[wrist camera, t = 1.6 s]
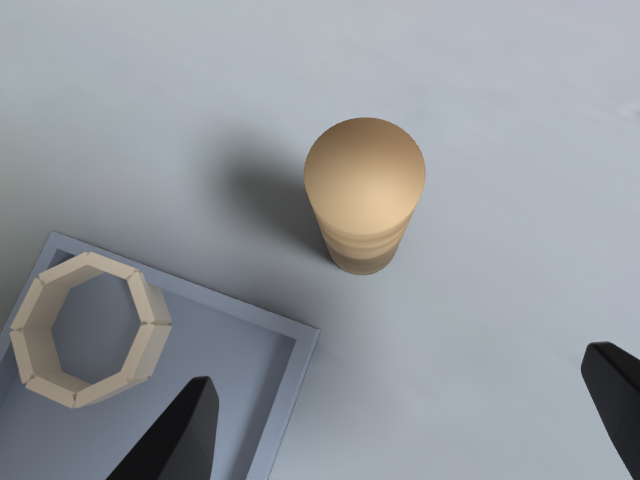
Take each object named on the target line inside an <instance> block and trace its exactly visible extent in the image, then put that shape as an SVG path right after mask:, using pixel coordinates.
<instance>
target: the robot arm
mask: <svg viewBox="0 0 640 480" xmlns="http://www.w3.org/2000/svg"><path fill="white" fill-rule="evenodd" d="M581 373H582V377H583V379H584V381H585V384H586V386H587V388H588V390H589V393H590V395H591V397H592V399H593V402H594V404H595V406H596V408H597V410H598V413H599V415H600V417H601V419H602V422H603V424H604V426H605V428H606V431H607V433H608V435H609V437H610V439H611V441H612V443H613V445H614V446H615V448H616V450H617V452H618V454H619V455H620V457H621V459H622V461H623V462H624V464H625V466H626V468H627V469H628V471H629V473H630V475H631V476H632V478H633V480H640V360H639V359H637V358H636V357H634V356H633V355H631V354H629V353H628V352H626V351H624V350H623V349H621V348H619V347H618V346H616V345H614V344H613V343H610V342H605V341H604V342H593V343H590V344H589V345H588V346H587V348H586V351H585V355H584V358H583V361H582V364H581ZM218 413H219V397H218V394H217V391H216V389H215V386H214V384H213V382H212V379H211V378H210V377H209V376H198V377H193V378H192V379H191V380H190V381H189V382H188V383H187V384H186V385H185V387H184V388H183V389H182V390H181V391H180V392H179V394H178V395H177V396H176V397H175V398H174V400H173V401H172V402H171V403H170V404H169V405H168V407H167V408H166V409H165V410H164V411H163V412H162V414H161V415H160V416H159V417H158V418H157V419H156V421H155V422H154V423H153V424H152V425H151V427H150V428H149V429H148V430H147V431H146V432H145V434H144V435H143V436H142V437H141V438H140V439H139V441H138V442H137V443H136V444H135V445H134V446H133V448H132V449H131V450H130V451H129V452H128V454H127V455H126V456H125V457H124V458H123V459H122V461H121V462H120V463H119V464H118V465H117V466H116V468H115V469H114V470H113V471H112V472H111V473H110V475H109V476H108V477H107V478H106V479H105V480H210V477H211V472H212V466H213V458H214V449H215V440H216V431H217V422H218Z"/></svg>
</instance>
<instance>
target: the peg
mask: <svg viewBox="0 0 640 480" xmlns="http://www.w3.org/2000/svg"><path fill="white" fill-rule="evenodd" d="M304 183H305V188H306V192H307V194H308V197H309V200H310V203H311V205H312V208H313V211H314V213H315V216H316V219H317V222H318V224H319V227H320V230H321V233H322V235H323V238H324V241H325V243H326V246H327V249H328V252H329V254H330V256H331V258H332V260H333V261H334V262H335V263H336V264H337V265H338V266H339V267H340V268H341V269H343V270H344V271H346V272H349V273H351V274H355V275H369V274H373V273H376V272H378V271H380V270H381V269H383V268H384V267H385V266H386V265H388V264H389V262H390V261H391V260H392V258H393V256H394V254H395V252H396V250H397V247H398V245H399V243H400V241H401V238H402V236H403V234H404V232H405V230H406V227H407V225H408V223H409V221H410V218H411V216H412V214H413V212H414V209H415V207H416V205H417V203H418V200H419V198H420V196H421V193H422V191H423V188H424V184H425V164H424V159H423V156H422V153H421V151H420V149H419V147H418V145H417V144H416V143H415V141H414V140H413V139H412V138H411V136H410V135H409V134H408V133H406V132H405V131H404V130H403V129H401V128H400V127H398V126H397V125H394V124H392V123H390V122H388V121H385V120H381V119H377V118H355V119H350V120H346V121H343V122H341V123H338V124H336V125H334V126H333V127H331V128H329V129H328V130H327V131H325V132H324V133H323V134H322V135H321V136H320V137H319V138H318V139H317V140H316V142H315V143H314V144H313V146H312V147H311V149H310V151H309V153H308V155H307V159H306V162H305V167H304Z"/></svg>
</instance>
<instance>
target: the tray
mask: <svg viewBox="0 0 640 480" xmlns="http://www.w3.org/2000/svg"><path fill="white" fill-rule="evenodd" d="M320 331H321V330H319V329H316V328H314V327H311V326H308V325H306V324H303V323H300V322H298V321H295V320H292V319H290V318H287V317H284V316H281V315H279V314H276V313H273V312H271V311H268V310H265V309H263V308H260V307H257V306H255V305H252V304H249V303H247V302H244V301H241V300H239V299H236V298H233V297H230V296H228V295H225V294H222V293H220V292H217V291H214V290H212V289H209V288H206V287H204V286H201V285H198V284H196V283H193V282H190V281H188V280H185V279H182V278H180V277H177V276H174V275H171V274H169V273H166V272H163V271H161V270H158V269H155V268H153V267H150V266H147V265H145V264H142V263H139V262H137V261H134V260H131V259H129V258H126V257H123V256H120V255H118V254H115V253H112V252H110V251H107V250H104V249H102V248H99V247H96V246H94V245H91V244H88V243H86V242H83V241H80V240H78V239H75V238H72V237H69V236H66V235H63V234H60V233H57V232H54V231H52V232H51V234H50V236H49V238H48V240H47V242H46V244H45V246H44V248H43V250H42V252H41V254H40V256H39V258H38V260H37V261H36V263H35V265H34V267H33V269H32V271H31V273H30V275H29V277H28V279H27V281H26V283H25V285H24V287H23V289H22V291H21V293H20V295H19V297H18V299H17V301H16V303H15V305H14V307H13V309H12V311H11V313H10V315H9V317H8V319H7V321H6V323H5V325H4V327H3V329H2V331H1V333H0V480H105V479H106V478H107V477H108V476H109V475H110V473H111V472H112V471H113V470H114V469H115V468H116V466H117V465H118V464H119V463H120V462H121V461H122V459H123V458H124V457H125V456H126V455H127V454H128V452H129V451H130V450H131V449H132V448H133V446H134V445H135V444H136V443H137V442H138V441H139V439H140V438H141V437H142V436H143V435H144V434H145V432H146V431H147V430H148V429H149V428H150V427H151V425H152V424H153V423H154V422H155V421H156V419H157V418H158V417H159V416H160V415H161V414H162V412H163V411H164V410H165V409H166V408H167V407H168V405H169V404H170V403H171V402H172V401H173V400H174V398H175V397H176V396H177V395H178V394H179V392H180V391H181V390H182V389H183V388H184V387H185V385H186V384H187V383H188V382H189V381H190V380H191V379H192V378H193V377H198V376H209V377H210V378H211V379H212V382H213V384H214V386H215V389H216V391H217V394H218V397H219V413H218V422H217V431H216V440H215V449H214V458H213V466H212V472H211V477H210V480H268V478H269V476H270V473H271V470H272V467H273V464H274V461H275V458H276V456H277V453H278V450H279V447H280V444H281V441H282V439H283V436H284V433H285V430H286V427H287V424H288V422H289V419H290V416H291V413H292V410H293V407H294V405H295V402H296V399H297V396H298V393H299V390H300V388H301V385H302V382H303V379H304V376H305V373H306V371H307V368H308V365H309V362H310V359H311V356H312V353H313V351H314V348H315V345H316V342H317V339H318V336H319V334H320Z"/></svg>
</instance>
